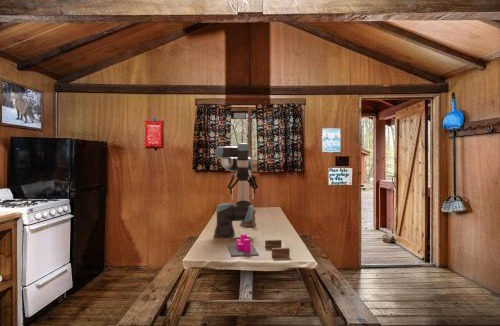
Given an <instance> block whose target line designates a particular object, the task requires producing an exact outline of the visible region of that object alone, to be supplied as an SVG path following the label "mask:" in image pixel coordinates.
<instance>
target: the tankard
mask: <svg viewBox="0 0 500 326" xmlns="http://www.w3.org/2000/svg"><path fill="white" fill-rule="evenodd" d="M256 213H257V209H256V208H254V207H253V212H252V219H251V220H250V221H240V223H239V224H240V225H241V226H243V227H254V226H256V225H257V222H256V216H255V215H256Z"/></svg>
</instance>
